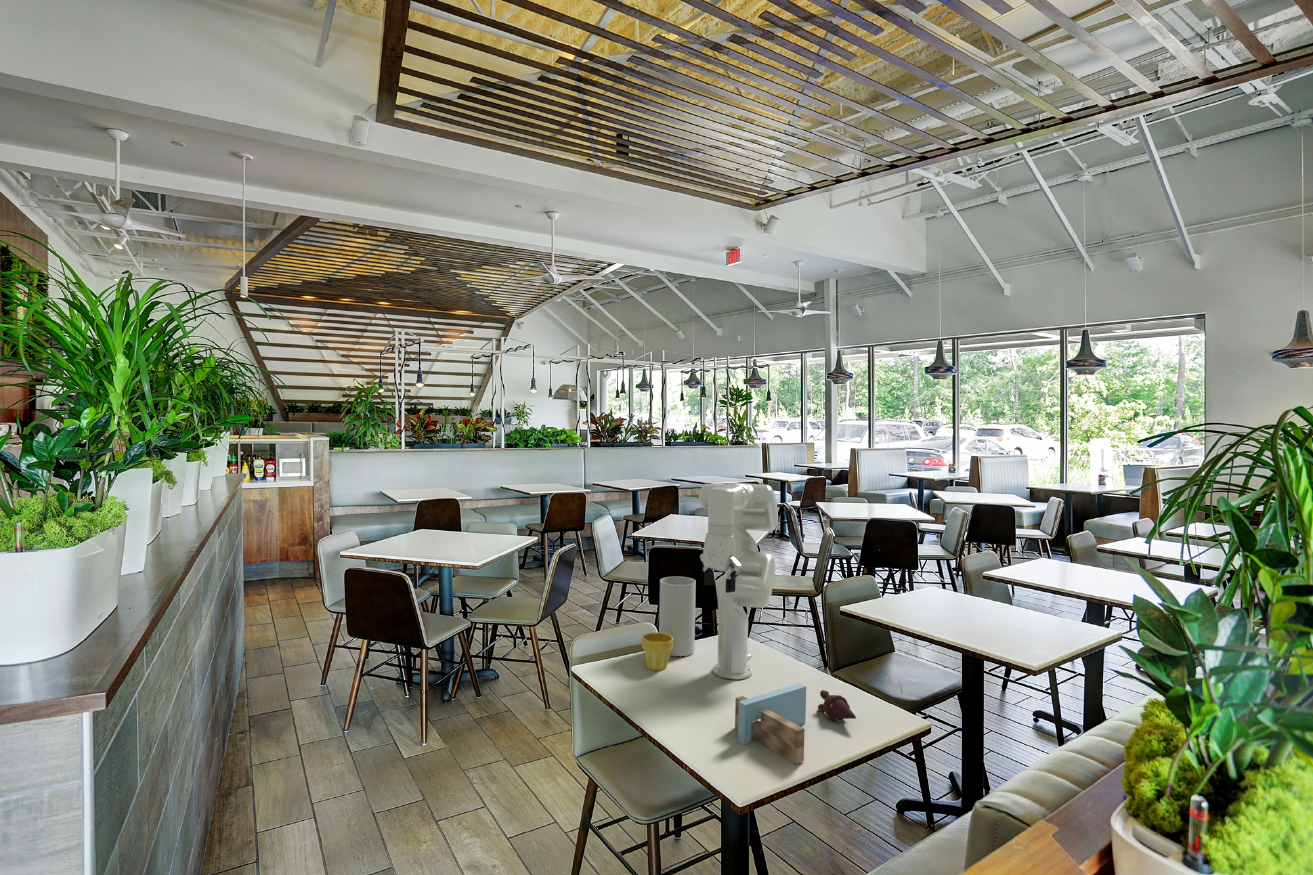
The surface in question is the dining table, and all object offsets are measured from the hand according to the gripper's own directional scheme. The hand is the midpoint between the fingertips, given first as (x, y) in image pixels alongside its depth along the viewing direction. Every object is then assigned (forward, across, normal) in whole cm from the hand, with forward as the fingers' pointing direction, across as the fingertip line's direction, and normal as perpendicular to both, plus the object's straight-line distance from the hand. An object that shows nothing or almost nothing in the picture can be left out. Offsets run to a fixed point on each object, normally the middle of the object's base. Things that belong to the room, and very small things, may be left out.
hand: (719, 588), depth 190 cm
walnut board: (+32, +28, -7) cm, 43 cm away
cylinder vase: (+32, -38, +13) cm, 51 cm away
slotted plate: (+32, +24, -1) cm, 40 cm away
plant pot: (+32, -29, -1) cm, 44 cm away
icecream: (+33, +28, +19) cm, 47 cm away
